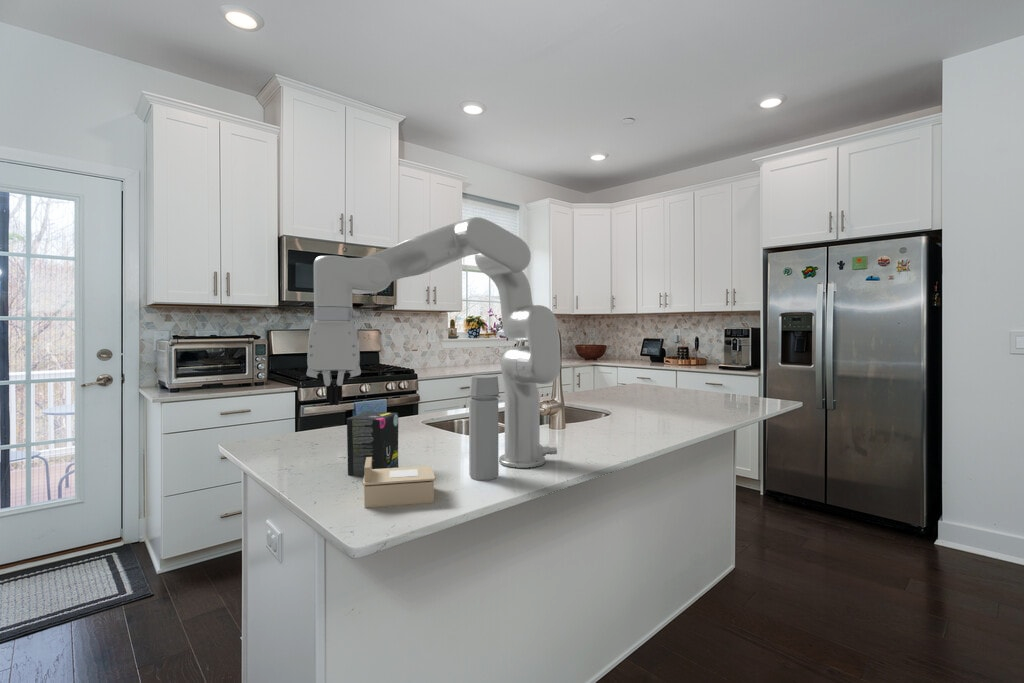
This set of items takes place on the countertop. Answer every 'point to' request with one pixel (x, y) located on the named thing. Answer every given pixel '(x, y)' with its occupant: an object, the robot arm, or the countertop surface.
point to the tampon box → (372, 441)
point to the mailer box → (398, 494)
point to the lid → (396, 474)
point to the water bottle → (483, 427)
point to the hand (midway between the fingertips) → (334, 404)
